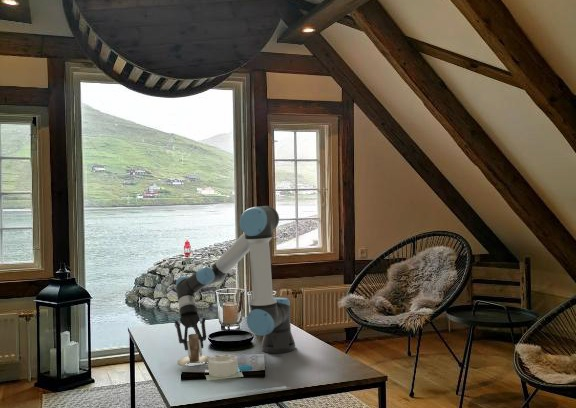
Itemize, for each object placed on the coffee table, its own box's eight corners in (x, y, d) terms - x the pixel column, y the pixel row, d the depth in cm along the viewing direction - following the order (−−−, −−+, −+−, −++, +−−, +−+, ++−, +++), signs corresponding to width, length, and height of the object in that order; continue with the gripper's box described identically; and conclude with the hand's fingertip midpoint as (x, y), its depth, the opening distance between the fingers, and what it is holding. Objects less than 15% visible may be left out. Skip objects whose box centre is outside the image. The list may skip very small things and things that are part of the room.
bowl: (235, 366, 231) (234, 353, 231) (239, 375, 220) (238, 361, 220) (207, 369, 228) (207, 356, 228) (210, 378, 217) (209, 364, 217)
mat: (238, 366, 233) (238, 365, 233) (243, 377, 219) (243, 376, 219) (203, 370, 229) (203, 369, 229) (207, 382, 216) (206, 380, 216)
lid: (209, 355, 249) (208, 329, 248) (212, 365, 235) (211, 337, 235) (176, 359, 246) (175, 332, 245) (178, 369, 232) (177, 341, 232)
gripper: (206, 311, 257) (214, 357, 242) (167, 315, 252) (174, 363, 237) (207, 301, 252) (216, 348, 237) (168, 305, 247) (175, 353, 231)
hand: (195, 355), depth 237 cm, fingers closed on lid, 4 cm apart
